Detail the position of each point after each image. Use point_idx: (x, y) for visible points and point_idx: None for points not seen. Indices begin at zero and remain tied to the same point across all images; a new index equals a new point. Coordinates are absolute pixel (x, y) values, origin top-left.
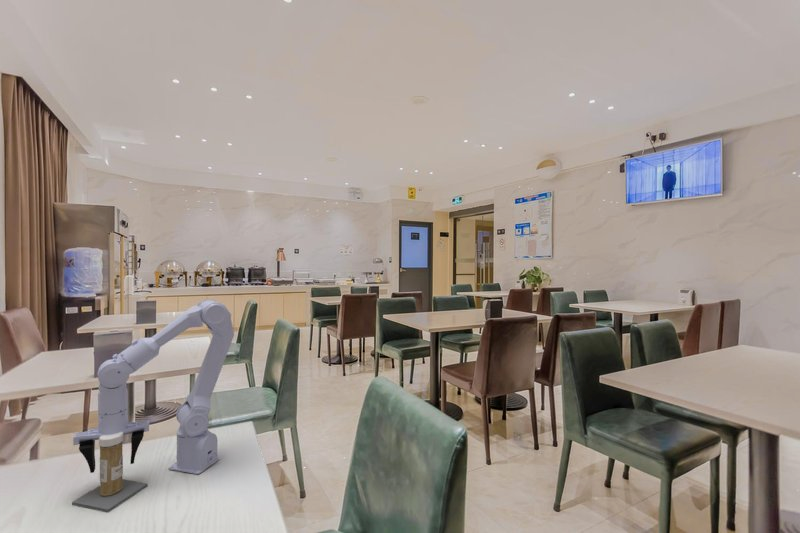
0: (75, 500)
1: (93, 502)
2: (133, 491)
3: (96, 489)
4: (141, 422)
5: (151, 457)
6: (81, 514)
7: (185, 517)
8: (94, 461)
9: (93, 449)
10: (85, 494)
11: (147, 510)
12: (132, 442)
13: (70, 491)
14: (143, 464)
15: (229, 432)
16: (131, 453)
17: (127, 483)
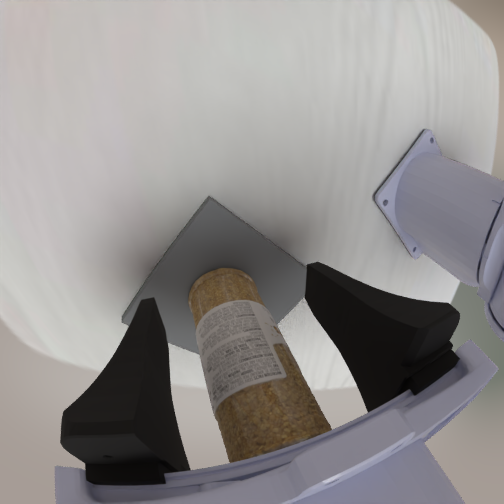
0: (127, 317)
1: (186, 336)
2: (284, 311)
3: (167, 271)
4: (477, 387)
5: (329, 59)
6: (170, 357)
7: (351, 374)
8: (156, 336)
9: (165, 416)
10: (142, 293)
11: (306, 361)
12: (367, 397)
13: (73, 234)
14: (305, 105)
15: (480, 60)
16: (333, 340)
17: (265, 262)
